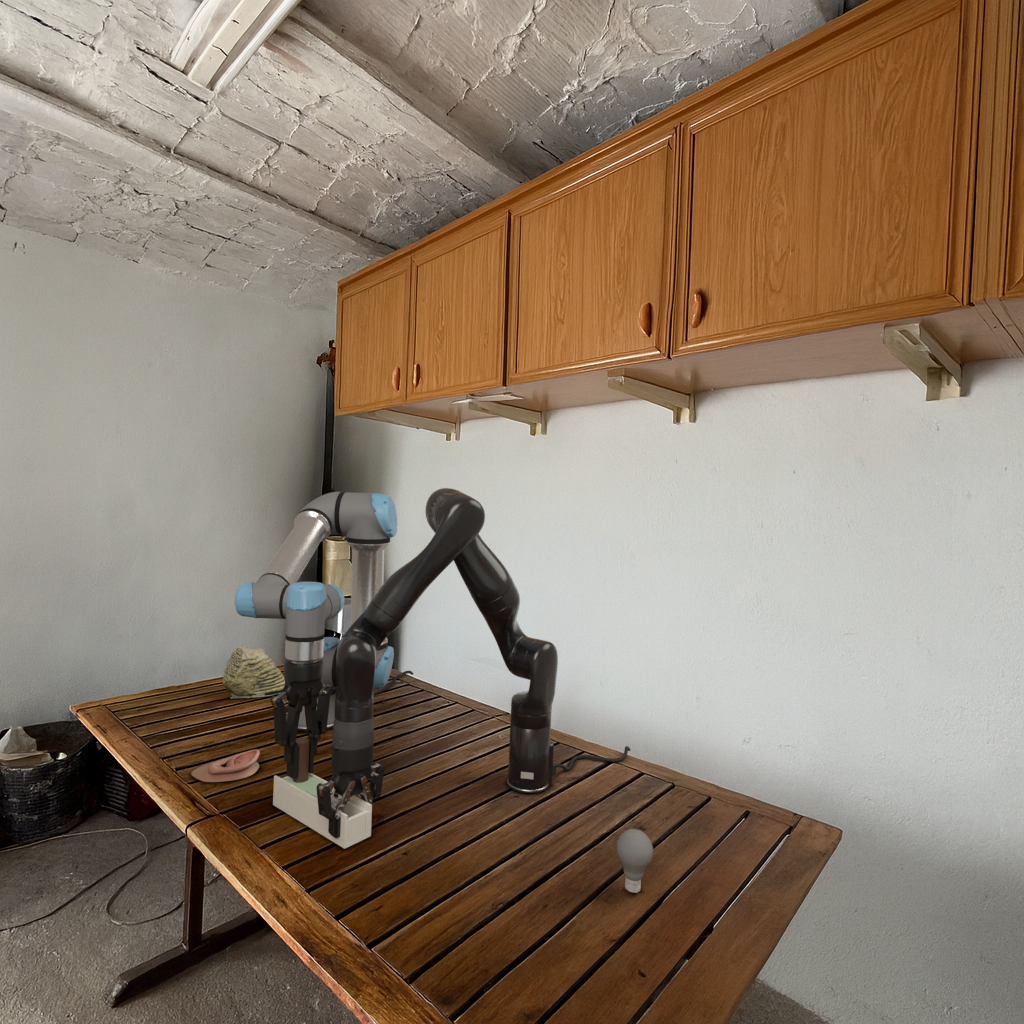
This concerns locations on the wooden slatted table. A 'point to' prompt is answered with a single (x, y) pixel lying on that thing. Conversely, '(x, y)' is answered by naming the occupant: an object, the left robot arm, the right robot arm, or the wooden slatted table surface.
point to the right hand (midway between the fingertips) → (349, 829)
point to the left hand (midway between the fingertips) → (300, 773)
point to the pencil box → (306, 811)
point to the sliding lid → (305, 770)
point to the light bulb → (634, 857)
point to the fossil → (252, 674)
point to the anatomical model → (229, 768)
